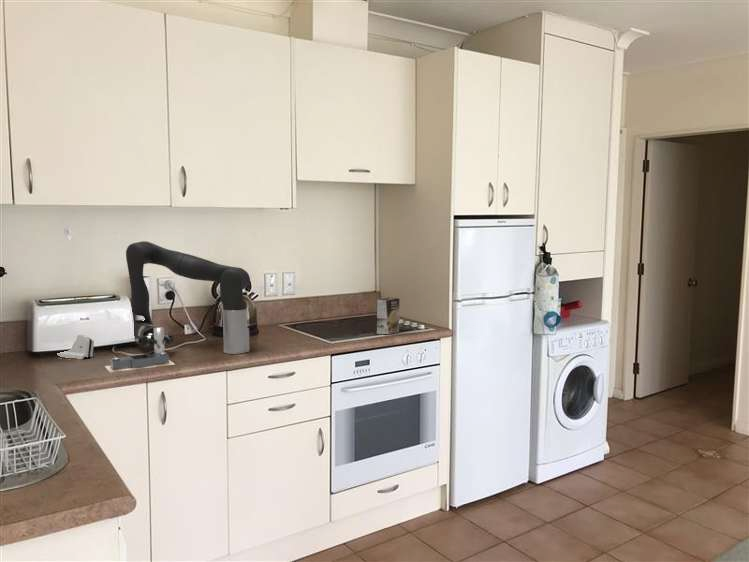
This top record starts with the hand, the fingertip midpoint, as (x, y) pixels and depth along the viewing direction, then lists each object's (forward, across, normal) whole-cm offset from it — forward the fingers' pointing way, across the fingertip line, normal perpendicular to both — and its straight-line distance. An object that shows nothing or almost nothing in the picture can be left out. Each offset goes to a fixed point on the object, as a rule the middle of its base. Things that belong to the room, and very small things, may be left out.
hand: (160, 342), depth 238 cm
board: (+6, -9, +7) cm, 13 cm away
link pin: (-3, 0, +7) cm, 7 cm away
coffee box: (-3, +103, +7) cm, 103 cm away
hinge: (-24, -27, +7) cm, 37 cm away
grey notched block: (+6, -9, +6) cm, 13 cm away
